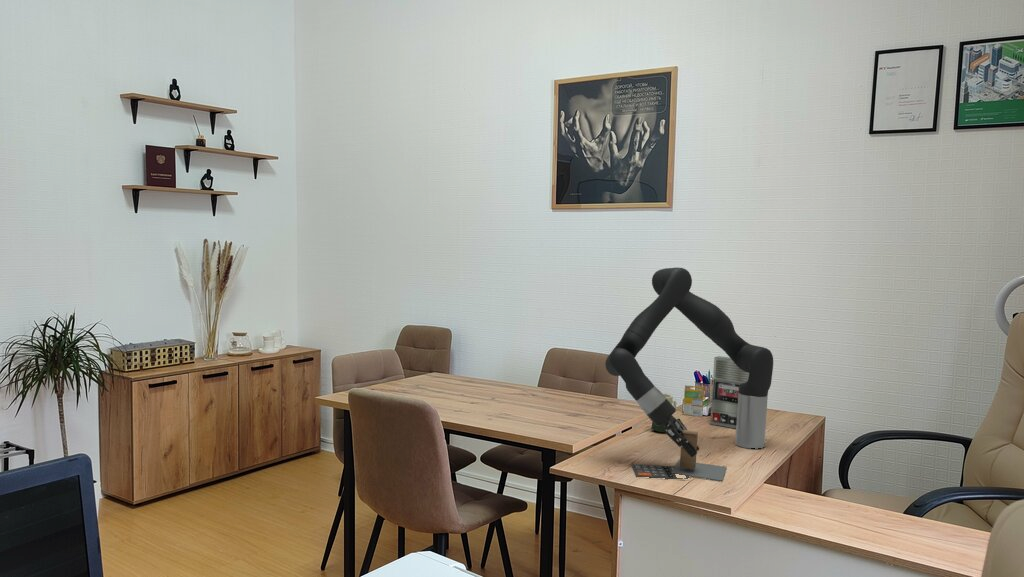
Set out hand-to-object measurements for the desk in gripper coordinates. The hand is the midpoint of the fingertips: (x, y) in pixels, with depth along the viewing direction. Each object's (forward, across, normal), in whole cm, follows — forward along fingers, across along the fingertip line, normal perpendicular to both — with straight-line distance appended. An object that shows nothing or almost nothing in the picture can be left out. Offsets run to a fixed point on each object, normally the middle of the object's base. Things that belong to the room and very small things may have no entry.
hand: (695, 452), depth 207 cm
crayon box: (-3, +77, +11) cm, 78 cm away
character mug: (-8, +43, +16) cm, 47 cm away
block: (+2, 0, +4) cm, 5 cm away
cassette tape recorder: (+8, +65, 0) cm, 65 cm away
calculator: (-2, -5, +11) cm, 12 cm away
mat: (+5, +2, +3) cm, 6 cm away
